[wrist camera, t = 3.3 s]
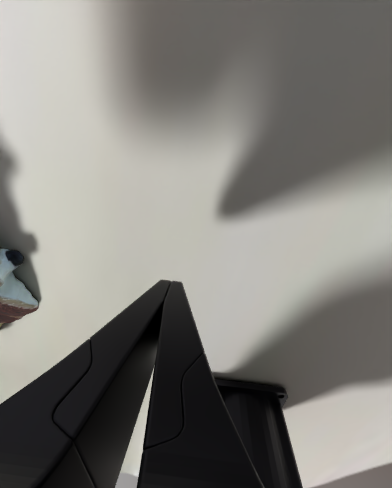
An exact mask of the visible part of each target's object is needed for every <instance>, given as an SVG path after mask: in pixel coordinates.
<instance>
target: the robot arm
mask: <svg viewBox="0 0 392 488" xmlns="http://www.w3.org/2000/svg"><path fill="white" fill-rule="evenodd" d="M154 365H155V366H154ZM153 368H154V373H153V380H152V387H151V394H150V401H149V408H148V416H147V423H146V430H145V437H144V444H143V453H142V458H141V465H140V471H139V477H138V483H137V488H303V487H302V483H301V479H300V475H299V472H298V468H297V464H296V460H295V456H294V453H293V449H292V445H291V441H290V437H289V434H288V430H287V426H286V422H285V418H284V414H283V411H282V407H283V405H284V403H285V402H286V400H287V398H288V395H287V391H286V389H285V388H283V387H276V386H268V385H260V384H252V383H244V382H235V381H227V380H219V379H214V377H213V375H212V372H211V369H210V366H209V363H208V360H207V357H206V354H205V353H204V348H203V345H202V342H201V339H200V336H199V333H198V330H197V327H196V324H195V321H194V318H193V315H192V312H191V308H190V305H189V302H188V299H187V296H186V293H185V290H184V287H183V284H182V282H178V281H172V282H171V281H169V280H160V281H159V282H157V283H156V284H155V285H154V286H153V287H151V288H150V289H149V290H148V291H146V292H145V293H144V294H143V295H142V296H140V297H139V298H138V299H137V300H135V301H134V302H133V303H132V304H131V305H129V306H128V307H127V308H126V309H125V310H123V311H122V312H121V313H120V314H118V315H117V316H116V317H115V318H114V319H112V320H111V321H110V322H109V323H107V324H106V325H105V326H104V327H103V328H101V329H100V330H99V331H98V332H96V333H95V334H94V335H93V336H92V337H91V338H90V339H88V340H87V341H85V342H84V343H83V344H82V345H80V346H79V347H78V348H77V349H75V350H74V351H73V352H72V353H70V354H69V355H68V356H67V357H65V358H64V359H63V360H61V361H60V362H59V363H58V364H56V365H55V366H53V367H52V368H51V369H49V370H48V371H47V372H45V373H44V374H42V375H41V376H40V377H38V378H37V379H36V380H34V381H33V382H31V383H30V384H28V385H27V386H26V387H24V388H23V389H21V390H20V391H18V392H17V393H16V394H14V395H13V396H11V397H10V398H8V399H7V400H6V401H4V402H3V403H1V404H0V488H115V485H116V482H117V479H118V476H119V473H120V470H121V467H122V464H123V461H124V458H125V454H126V451H127V448H128V445H129V442H130V439H131V436H132V433H133V430H134V427H135V424H136V421H137V418H138V414H139V411H140V408H141V405H142V402H143V399H144V396H145V393H146V390H147V387H148V384H149V381H150V378H151V374H152V371H153Z"/></svg>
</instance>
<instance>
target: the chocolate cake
mask: <svg viewBox="0 0 392 488" xmlns="http://www.w3.org/2000/svg"><path fill="white" fill-rule="evenodd" d="M23 261H24V260H23V256H22V254H21V253H20V252H19V251H16V250H9V249H3V248H0V327H1V326H2V324H3V323H11V322H13V321H15V320H19V319H21V318H22V317H23V316H25V315H26V314H29V313H32V312H34V311H36V310H37V309H38V301H37V300H36V299H34V298H33V297H32V295H31V293H30V292H29V291H28V290H27V289H26V288H25V285H24V284H23V283H22V282H21V281H19V280H17V279H16V278H15V277H14V274H13V272H12V271H13V270H14V269H15V268H17V267H19V265H21V264H22V263H23Z"/></svg>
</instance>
